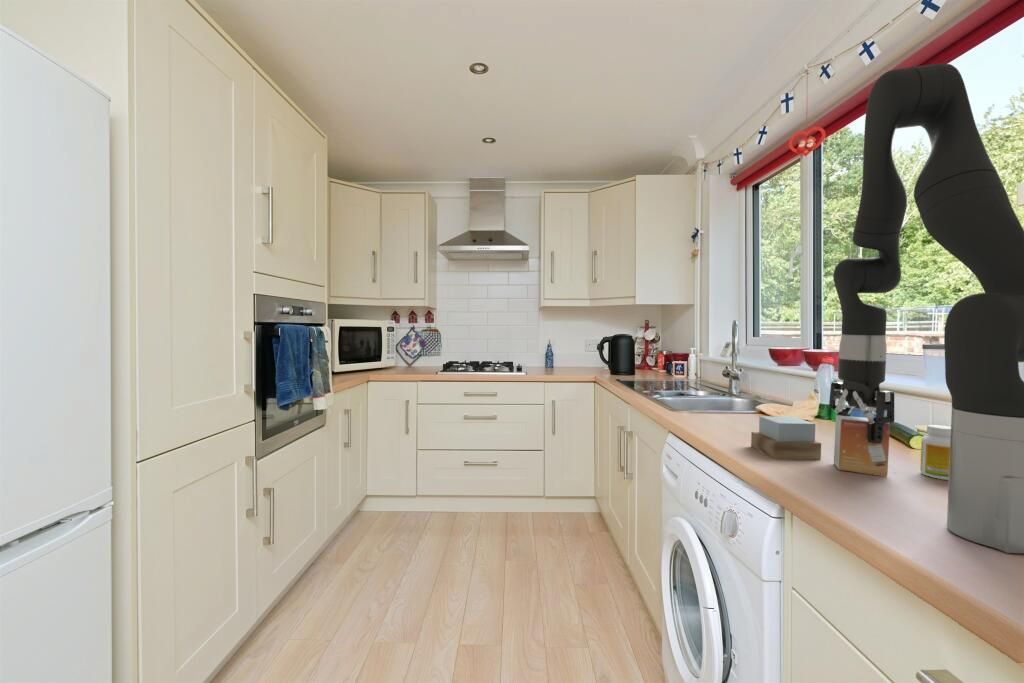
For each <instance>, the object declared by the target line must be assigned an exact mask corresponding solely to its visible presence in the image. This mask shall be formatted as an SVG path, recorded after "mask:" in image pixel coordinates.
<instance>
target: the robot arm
mask: <svg viewBox="0 0 1024 683" xmlns="http://www.w3.org/2000/svg"><path fill="white" fill-rule="evenodd" d="M970 103H971V102H970V100H969V95H968V92H967V89H966V85H965V82H964V79H963V77H962V74H961V72H960V71H959V69H958V68H957V67H956V66H954V65H953V64H951V63H931V64H925V65H918V66H912V67H902V68H901V67H900V68H896V69H891V70H888V71H886V72H884V73H882V75H880V76H879V77H878V79H876V81H875V83H874V84H873V85H872V88H871V90H870V93H869V96H868V100H867V104H866V109H865V117H864V118H865V119H864V120H865V121H864V134H863V135H864V136H863V137H864V138H863V154H862V157H863V158H862V181H861V182H862V183H861V195H860V200H859V206H858V210H857V215H856V220H855V225H854V229H853V235H852V242H853V244H854V245H855V246H856V247H860V248H863V249H868V250H869V249H870V250H875V251H877V252H878V254H877V257H851V258H844V259H842V260H841V261H839V263H837V264H836V266H835V268H834V270H833V276H832V277H833V283H834V287H835V290H836V293H837V297H838V300H839V305H840V309H841V314H842V316H841V320H842V321H841V337H840V342H839V345H838V346H839V348H838V367H837V368H838V369H837V370H838V371H837V377H838V378H837V379H839V380H841V381H832V382H831V383H830V393H829V400H828V401H829V402H828V408H829V409H830V410H833V411H834V413H835V414H836V415H841V416H850V417H851V415H850V413H851V412H852V411H853V409H855V408H857V409H858V410H860V411H861V412H862V414H864V415H865V416H866V418H867V419H868V421H869V423H868V442H870V443H881V442H882V439H883V426H884V424H886V423H889V424H893V423H894V422H895V392H894V391H892V390H881V388H880V384H882V383H884V382H885V381H886V368H887V366H886V365H887V351H888V350H887V341H886V340H887V338H886V337H887V336H886V335H887V332H886V331H887V317H888V316H887V315H888V314H887V310H886V308H884V307H883V306H880V305H876V304H870V303H866V302H863V301H862V299H861V298H860V297H859V294H885V293H886V294H887V293H889V292H891V291H893V290H894V289H895V288H897V286H898V285H899V283H900V281H901V278H902V269H901V261H900V260H901V259H900V236H901V231H902V227H903V224H904V219H905V215H906V212H907V207H908V206H907V205H908V194H907V189H906V187H905V184H904V182H903V179H902V177H901V175H900V174H899V172H898V171H899V170H898V169H897V167H896V163H895V160H894V157H893V140H894V136H895V133H896V132H895V131H896V130H897V129H905V128H914V127H921V128H922V129H924V130H925V132H926V134H927V135H928V138H929V141H930V146H931V150H930V153H929V155H928V157H927V159H926V160H925V163H924V165H923V167H922V169H921V171H920V173H919V175H918V176H917V179H916V181H915V185H914V189H913V199H914V202H915V204H916V207H917V211H918V213H919V215H920V218H921V222H922V224H923V225H924V228H925V229H926V231H927V233H928V235H930V237H932V239H933V240H934V241H935V242H936V243H937V244H939V245H940V246H941V247H942V248H943V249H944V250H946V251H947V252H948V253H949V254H950V255H952V256H953V257H954V258H955V259H957V260H958V261H959V262H960V263H961V264H963V265H964V266H966V268H967V269H969V271H970V272H971V273H972V274H973V275H974V276H975V277H976V279H977V280H978V282H979V284H980V285H981V287H982V289H983V291H984V292H981V293H980V292H979V293H973V294H969V295H966V296H964V297H963V298H960V299H959V300H958V301H957V302H955V304H954V305H953V306H952V307H951V308H950V309H949V310H950V311H949V312H948V315H947V317H946V319H945V325H944V334H943V337H944V339H943V340H944V341H943V342H944V370H945V371H944V374H945V377H944V378H945V383H946V387H947V390H948V391H949V394H950V396H951V416H950V417H951V418H950V420H951V421H950V427H951V436H950V459H949V480H948V484H947V485H948V486H947V488H948V489H947V511H946V512H947V513H946V514H947V515H946V516H947V517H946V527H947V530H949V531H950V532H952V533H953V534H954V535H957V536H958V537H961V538H963V539H965V540H968V541H970V542H974V543H977V544H980V545H983V546H987V547H990V548H994V549H997V550H999V551H1002V552H1003V553H1006V554H1007V553H1008V554H1024V380H1023V379H1022V378H1021V377H1022V376H1021V374H1020V368H1019V367H1020V365H1019V363H1024V228H1023V226H1022V224H1021V222H1020V220H1019V218H1018V217H1017V214H1016V213H1015V210H1014V208H1013V206H1012V203H1011V201H1010V198H1009V195H1008V192H1007V190H1006V188H1005V186H1004V184H1003V182H1002V179H1001V177H1000V175H999V173H998V171H997V169H996V168H995V166H994V164H993V162H992V160H991V158H990V156H989V154H988V152H987V149H986V147H985V144H984V141H983V138H982V136H981V134H980V132H979V130H978V127H977V124H976V120H975V118H974V114H973V111H972V106H971V104H970ZM837 399H838V400H837ZM836 401H837V402H836ZM885 411H886V416H885V415H884V414H885Z"/></svg>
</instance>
